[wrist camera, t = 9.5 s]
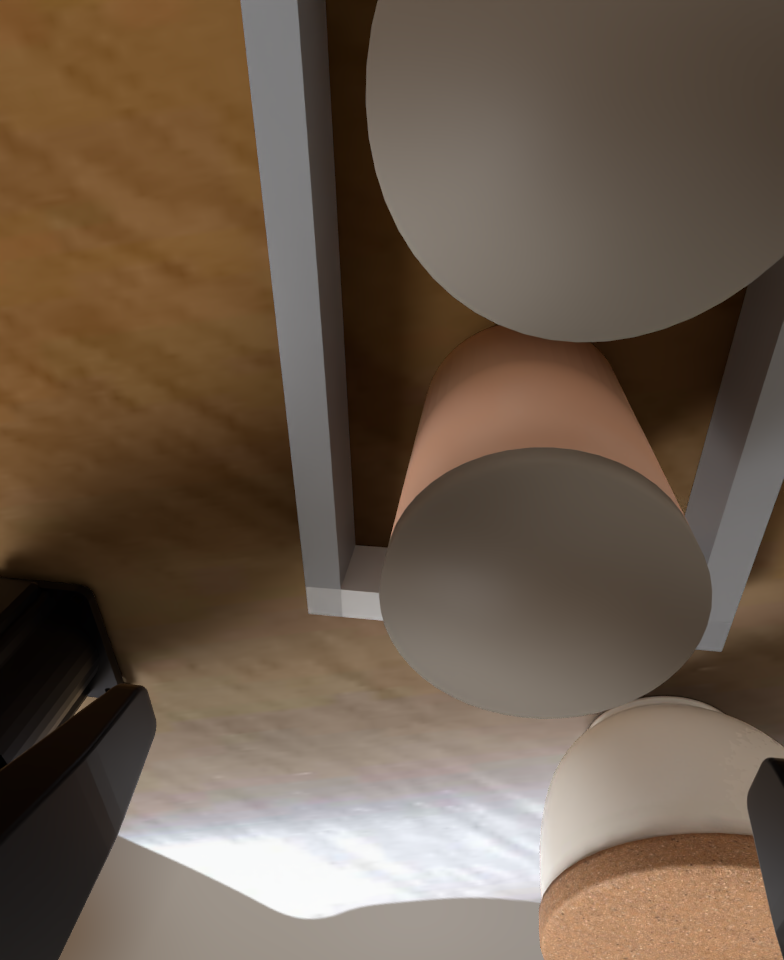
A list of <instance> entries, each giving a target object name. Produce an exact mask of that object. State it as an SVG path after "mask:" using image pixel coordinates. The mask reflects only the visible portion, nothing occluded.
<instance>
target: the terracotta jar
mask: <svg viewBox="0 0 784 960" xmlns="http://www.w3.org/2000/svg"><path fill="white" fill-rule="evenodd" d="M379 600H380V609H381V614H382V618H383V621H384V625H385V628H386V630H387V632H388V634H389V636H390V639H391V641H392V642H393V644H394V645H395V647H396V648H397V650H398V652H399V653H400V655H401V656H402V657H403V658H404V659H405V660H406V662H407V663H408V664H409V665H410V666H411V667H412V668H413V669H414V670H415V671H416V672H417V673H418V674H419V675H420V676H422V677H423V678H424V679H425V680H427V681H428V682H429V683H431V684H432V685H433V686H435V687H436V688H438V689H439V690H441V691H443V692H445V693H446V694H448V695H450V696H452V697H454V698H456V699H458V700H460V701H463V702H465V703H467V704H469V705H472V706H475V707H478V708H481V709H484V710H487V711H491V712H495V713H499V714H504V715H510V716H516V717H523V718H538V719H553V718H569V717H578V716H584V715H589V714H594V713H599V712H602V711H606V710H609V709H613V708H616V707H619V706H621V705H624V704H626V703H629V702H631V701H633V700H636V699H638V698H639V697H641V696H643V695H645V694H647V693H649V692H651V691H652V690H654V689H655V688H657V687H658V686H659V685H661V684H662V683H664V682H665V681H667V680H668V679H669V678H670V677H671V676H672V675H673V674H675V673H676V672H677V671H678V670H679V669H680V668H681V667H682V666H683V665H684V663H685V662H686V661H687V660H688V659H689V658H690V657H691V655H692V654H693V652H694V651H695V649H696V647H697V646H698V644H699V643H700V641H701V639H702V637H703V634H704V632H705V630H706V627H707V625H708V621H709V617H710V612H711V608H712V585H711V577H710V572H709V569H708V566H707V563H706V560H705V557H704V555H703V553H702V551H701V549H700V547H699V545H698V542H697V540H696V538H695V536H694V534H693V532H692V530H691V528H690V526H689V524H688V522H687V520H686V518H685V516H684V514H683V512H682V510H681V508H680V506H679V504H678V502H677V500H676V497H675V495H674V493H673V491H672V489H671V487H670V485H669V483H668V481H667V479H666V477H665V475H664V473H663V471H662V469H661V467H660V465H659V463H658V461H657V459H656V457H655V455H654V452H653V450H652V448H651V446H650V444H649V442H648V440H647V438H646V436H645V434H644V432H643V430H642V428H641V426H640V424H639V422H638V420H637V418H636V416H635V414H634V412H633V410H632V407H631V405H630V403H629V401H628V399H627V397H626V395H625V393H624V391H623V389H622V387H621V385H620V383H619V381H618V379H617V377H616V375H615V373H614V371H613V369H612V367H611V365H610V363H609V362H608V361H607V359H606V358H605V357H604V355H603V354H602V353H601V352H600V351H599V350H598V349H597V348H596V347H595V346H594V345H593V344H592V343H590V342H568V341H557V340H549V339H544V338H540V337H535V336H531V335H526V334H523V333H520V332H517V331H514V330H512V329H509V328H506V327H503V326H501V325H497V326H494V327H490V328H488V329H485V330H483V331H481V332H479V333H476V334H475V335H473V336H471V337H470V338H468V339H466V340H465V341H464V342H462V343H461V344H460V345H459V346H457V347H456V348H455V349H454V350H453V351H452V352H451V353H450V354H449V355H448V356H447V357H446V358H445V359H444V361H443V362H442V363H441V365H440V366H439V367H438V369H437V371H436V373H435V375H434V376H433V378H432V381H431V383H430V386H429V388H428V392H427V395H426V399H425V403H424V407H423V411H422V415H421V419H420V423H419V427H418V431H417V435H416V439H415V443H414V447H413V450H412V454H411V458H410V462H409V466H408V470H407V474H406V478H405V482H404V486H403V490H402V494H401V498H400V501H399V505H398V509H397V513H396V517H395V521H394V525H393V529H392V533H391V537H390V541H389V545H388V549H387V552H386V556H385V560H384V564H383V569H382V573H381V578H380V587H379Z"/></svg>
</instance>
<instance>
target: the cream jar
mask: <svg viewBox="0 0 784 960" xmlns="http://www.w3.org/2000/svg"><path fill="white" fill-rule="evenodd" d="M366 112H367V123H368V135H369V142H370V147H371V152H372V157H373V162H374V167H375V171H376V174H377V178H378V181H379V184H380V187H381V190H382V193H383V196H384V199H385V202H386V204H387V206H388V209H389V211H390V213H391V215H392V217H393V219H394V222H395V224H396V226H397V228H398V230H399V232H400V233H401V235H402V237H403V238H404V240H405V241H406V243H407V245H408V246H409V248H410V249H411V251H412V253H413V254H414V256H415V257H416V258H417V259H418V261H419V262H420V263H421V264H422V265H423V267H424V268H425V269H426V270H427V272H428V273H429V274H430V275H431V276H432V278H434V279H435V280H436V281H437V282H438V283H439V284H440V285H441V286H442V287H443V288H444V289H445V290H446V291H447V292H448V293H450V294H451V295H452V296H453V297H454V298H456V299H457V300H458V301H460V302H461V303H463V304H464V305H465V306H467V307H468V308H470V309H471V310H472V311H474V312H475V313H477V314H479V315H481V316H483V317H485V318H487V319H489V320H491V321H492V322H494V323H496V324H498V325H501V326H503V327H506V328H509V329H512V330H514V331H517V332H520V333H523V334H526V335H531V336H535V337H540V338H544V339H549V340H557V341H568V342H606V341H613V340H619V339H626V338H632V337H637V336H641V335H644V334H648V333H652V332H655V331H659V330H662V329H666V328H668V327H671V326H673V325H676V324H678V323H681V322H683V321H686V320H688V319H691V318H693V317H695V316H697V315H699V314H701V313H703V312H705V311H707V310H708V309H710V308H712V307H714V306H716V305H718V304H720V303H722V302H723V301H725V300H726V299H728V298H729V297H731V296H732V295H734V294H735V293H737V292H738V291H740V290H741V289H743V288H744V287H746V286H747V285H749V284H750V283H752V282H753V281H754V280H755V279H757V278H758V277H759V276H760V275H761V274H763V273H764V272H765V271H766V270H767V269H769V268H770V267H771V266H772V265H773V264H775V263H776V262H777V261H778V260H779V259H781V258H782V257H783V256H784V0H378V1H377V6H376V10H375V14H374V18H373V22H372V27H371V35H370V42H369V50H368V58H367V67H366Z"/></svg>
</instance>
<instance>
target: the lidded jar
mask: <svg viewBox="0 0 784 960" xmlns="http://www.w3.org/2000/svg"><path fill="white" fill-rule="evenodd" d="M768 757H774V758H782V759H784V747H783V746H782V745H780V744H779V743H778V742H777V741H775V740H774V739H772V738H771V737H769V736H768V735H766V734H765V733H763V732H762V731H760V730H758V729H756V728H755V727H753V726H751V725H749V724H747V723H745V722H743V721H741V720H738V719H736V718H734V717H731V716H728V715H726V714H724V713H722V712H721V711H720V710H718V709H716V708H714V707H712V706H711V705H708V704H706V703H703V702H700V701H697V700H693V699H689V698H683V697H676V696H652V697H644V698H638V699H636V700H633V701H631V702H629V703H626V704H624V705H621V706H619V707H616V708H613V709H609V710H607V711H605V712H604V713H603V714H601V715H600V716H599V717H598V718H596V719H595V721H594V722H593V723H592V724H591V725H590V727H589V729H588V730H587V731H586V732H585V733H584V734H583V735H581V736H580V737H579V738H578V739H577V740H576V741H575V743H574V744H573V745H572V746H571V747H570V748H569V749H568V750H567V752H566V754H565V755H564V757H563V758H562V760H561V762H560V763H559V765H558V767H557V769H556V770H555V772H554V775H553V778H552V780H551V783H550V786H549V788H548V792H547V796H546V799H545V805H544V810H543V816H542V822H541V835H540V891H541V903H540V907H539V937H540V948H541V951H542V954H543V957H544V960H783V957H782V954H781V950H780V947H779V944H778V940H777V937H776V934H775V930H774V926H773V922H772V918H771V914H770V909H769V905H768V900H767V896H766V891H765V887H764V882H763V878H762V873H761V869H760V864H759V860H758V855H757V851H756V846H755V842H754V837H753V833H752V828H751V824H750V819H749V815H748V810H747V794H748V791H749V788H750V786H751V784H752V782H753V780H754V778H755V776H756V774H757V772H758V770H759V767H760V765H761V763H762V762H763V760H765V759H766V758H768Z"/></svg>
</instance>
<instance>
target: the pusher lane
mask: <svg viewBox="0 0 784 960" xmlns="http://www.w3.org/2000/svg"><path fill="white" fill-rule="evenodd" d="M241 9H242V18H243V27H244V36H245V45H246V54H247V63H248V72H249V81H250V90H251V99H252V108H253V117H254V126H255V135H256V144H257V153H258V162H259V171H260V180H261V189H262V198H263V207H264V216H265V225H266V234H267V243H268V252H269V261H270V270H271V279H272V288H273V297H274V306H275V315H276V324H277V333H278V342H279V351H280V360H281V369H282V378H283V387H284V397H285V406H286V415H287V424H288V433H289V442H290V451H291V460H292V469H293V478H294V487H295V496H296V505H297V514H298V523H299V532H300V541H301V550H302V559H303V568H304V577H305V586H306V595H307V604H308V613H309V614H317V615H328V616H339V617H350V618H361V619H372V620H382V621H383V618H382V614H381V609H380V600H379V587H380V578H381V573H382V569H383V564H384V560H385V556H386V552H387V549H388V548H386V547H373V546H360V545H355V527H354V509H353V491H352V473H351V455H350V437H349V418H348V400H347V382H346V364H345V346H344V328H343V310H342V292H341V274H340V256H339V237H338V219H337V201H336V183H335V165H334V147H333V129H332V111H331V93H330V75H329V56H328V38H327V20H326V2H325V0H241ZM783 479H784V256H783V257H782V258H781V259H779V260H778V261H777V262H776V263H775V264H773V265H772V266H771V267H770V268H769V269H767V270H766V271H765V272H764V273H763V274H761V275H760V276H759V277H758V278H757V279H755V280H754V281H753V282H752V283H750V284H749V285H748V286H747V290H746V294H745V297H744V301H743V305H742V308H741V312H740V316H739V319H738V323H737V327H736V330H735V334H734V338H733V341H732V345H731V348H730V352H729V356H728V359H727V363H726V367H725V370H724V374H723V378H722V381H721V385H720V389H719V392H718V396H717V400H716V403H715V407H714V411H713V414H712V418H711V422H710V425H709V429H708V433H707V436H706V440H705V444H704V447H703V451H702V455H701V458H700V462H699V465H698V469H697V473H696V476H695V480H694V484H693V487H692V491H691V495H690V498H689V502H688V506H687V509H686V513H685V518H686V520H687V522H688V524H689V526H690V528H691V530H692V532H693V534H694V536H695V538H696V540H697V542H698V545H699V547H700V549H701V551H702V553H703V555H704V557H705V560H706V563H707V566H708V569H709V572H710V577H711V585H712V608H711V612H710V617H709V621H708V625H707V627H706V630H705V632H704V634H703V637H702V639H701V641H700V643H699V644H698V646H697V647H696V649H697V650H708V651H718V652H722V649H723V647H724V644H725V641H726V638H727V635H728V633H729V630H730V627H731V624H732V621H733V619H734V616H735V613H736V610H737V608H738V605H739V602H740V599H741V596H742V594H743V591H744V588H745V585H746V582H747V580H748V577H749V574H750V571H751V568H752V566H753V563H754V560H755V557H756V555H757V552H758V549H759V546H760V543H761V541H762V538H763V535H764V532H765V529H766V527H767V524H768V521H769V518H770V515H771V513H772V510H773V507H774V504H775V502H776V499H777V496H778V493H779V490H780V488H781V485H782V482H783Z"/></svg>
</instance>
